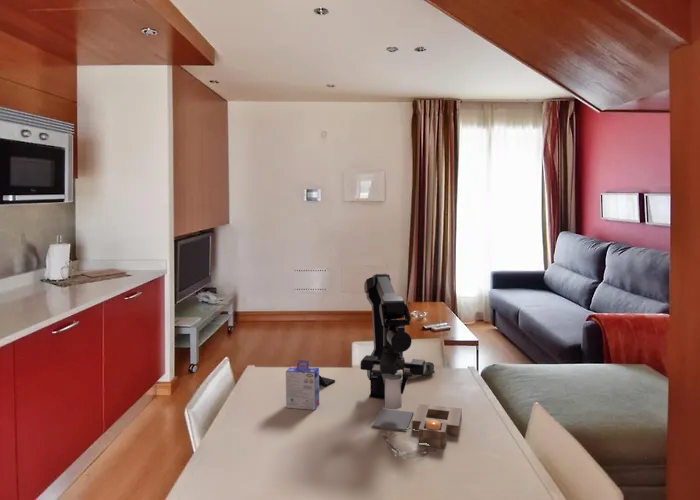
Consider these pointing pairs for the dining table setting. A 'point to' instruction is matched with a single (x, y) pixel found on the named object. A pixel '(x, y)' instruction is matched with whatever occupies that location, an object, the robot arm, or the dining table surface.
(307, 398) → the ink cartridge box
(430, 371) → the mobile phone
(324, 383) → the handheld gaming console
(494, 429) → the dining table surface
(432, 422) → the release button
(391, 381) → the cylinder
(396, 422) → the mat
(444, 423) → the socket block
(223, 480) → the dining table surface
